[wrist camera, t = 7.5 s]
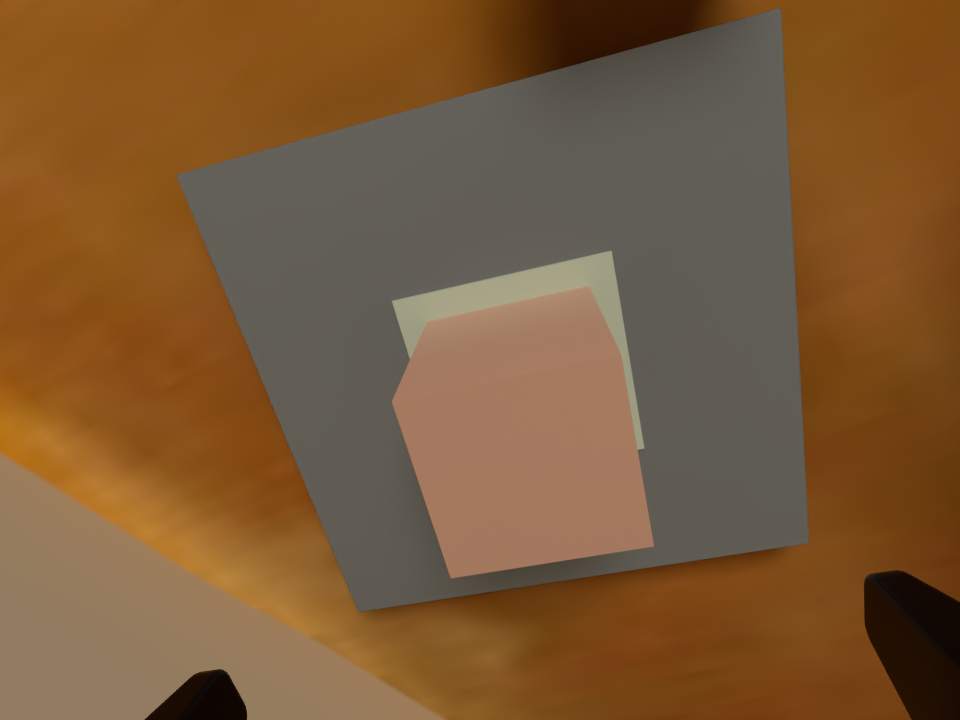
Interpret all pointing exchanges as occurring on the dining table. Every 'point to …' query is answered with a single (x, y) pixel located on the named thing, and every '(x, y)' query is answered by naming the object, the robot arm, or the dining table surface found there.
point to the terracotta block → (524, 435)
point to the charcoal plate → (536, 289)
